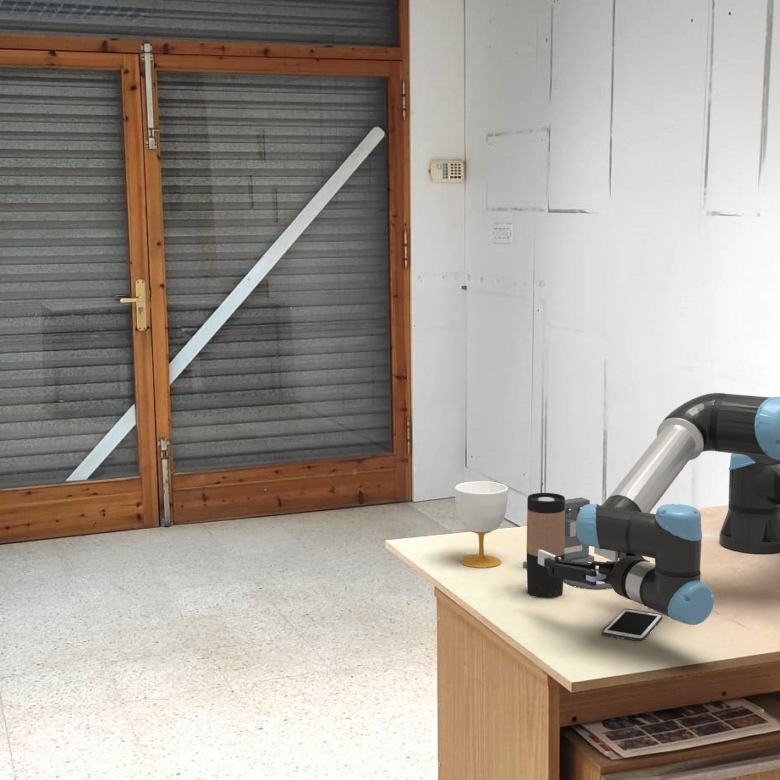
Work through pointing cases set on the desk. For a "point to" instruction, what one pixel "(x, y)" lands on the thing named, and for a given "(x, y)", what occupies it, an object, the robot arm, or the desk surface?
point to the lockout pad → (582, 585)
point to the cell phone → (632, 625)
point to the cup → (481, 514)
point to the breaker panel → (573, 533)
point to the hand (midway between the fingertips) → (567, 551)
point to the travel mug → (544, 542)
